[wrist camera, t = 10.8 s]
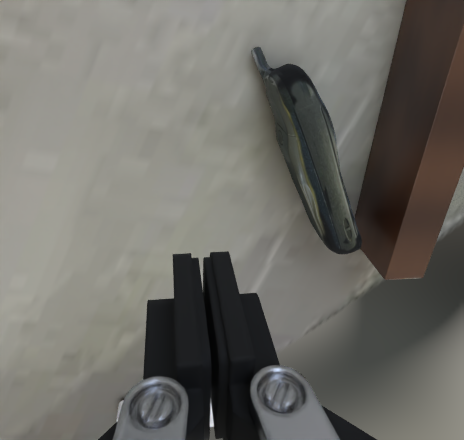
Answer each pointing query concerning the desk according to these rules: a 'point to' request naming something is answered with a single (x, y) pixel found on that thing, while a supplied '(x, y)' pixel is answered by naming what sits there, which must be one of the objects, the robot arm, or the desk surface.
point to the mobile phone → (310, 153)
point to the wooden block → (416, 142)
